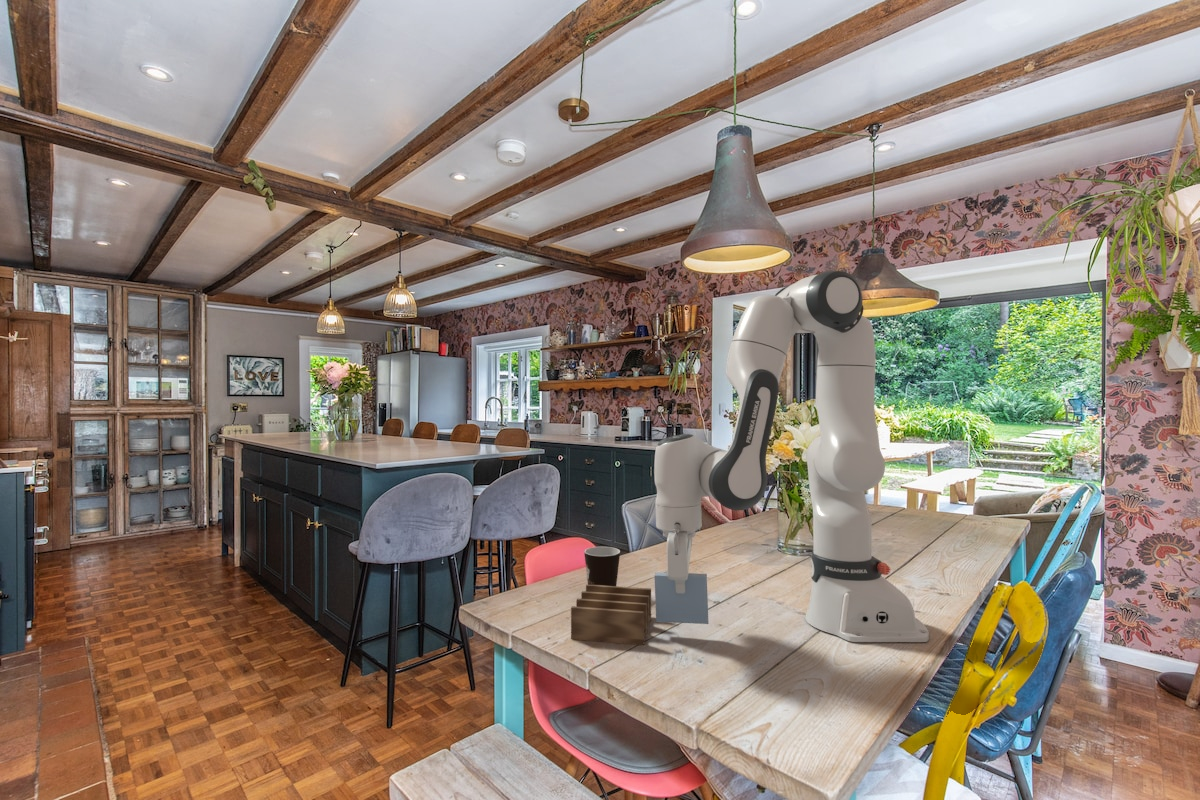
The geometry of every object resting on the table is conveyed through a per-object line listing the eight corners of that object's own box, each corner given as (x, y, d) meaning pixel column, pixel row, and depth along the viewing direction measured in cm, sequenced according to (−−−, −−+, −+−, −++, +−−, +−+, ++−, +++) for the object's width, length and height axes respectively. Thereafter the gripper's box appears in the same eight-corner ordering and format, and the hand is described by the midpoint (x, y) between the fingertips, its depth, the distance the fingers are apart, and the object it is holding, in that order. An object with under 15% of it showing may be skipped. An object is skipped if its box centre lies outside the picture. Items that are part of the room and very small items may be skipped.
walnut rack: (651, 616, 118) (651, 588, 118) (643, 645, 104) (643, 613, 104) (586, 612, 120) (586, 584, 120) (571, 638, 107) (571, 607, 107)
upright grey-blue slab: (708, 620, 108) (706, 573, 108) (708, 624, 106) (706, 576, 106) (657, 617, 110) (655, 572, 110) (656, 621, 108) (654, 575, 108)
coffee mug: (616, 600, 127) (616, 557, 127) (580, 598, 129) (580, 555, 129) (624, 584, 139) (624, 544, 139) (591, 582, 140) (591, 542, 141)
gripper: (693, 530, 97) (696, 609, 97) (696, 508, 117) (698, 573, 117) (657, 530, 98) (660, 608, 98) (666, 508, 118) (668, 573, 118)
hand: (681, 589), depth 108 cm, fingers closed on upright grey-blue slab, 2 cm apart
